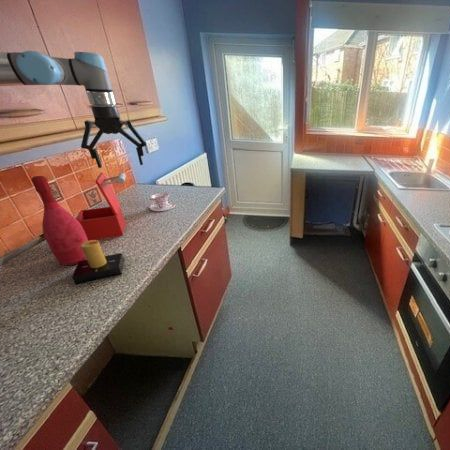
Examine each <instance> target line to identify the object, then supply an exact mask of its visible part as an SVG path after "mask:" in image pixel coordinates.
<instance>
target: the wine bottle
mask: <svg viewBox="0 0 450 450" xmlns="http://www.w3.org/2000/svg"><path fill="white" fill-rule="evenodd" d="M31 183H32V184H33V187H34V189H35V191H36V192H37V193H38V194H39V195H40V197H41V200H42V205H43V216H42V234H43V237H44V240H45V241H46V243H47V245H48V247H49V249H50V250H51V252H52V254H53V256H54V257H55V259H56V260H57V262H58V263H59V265H62V266H71V265H78V262H79V261H83V260H87V259H86V256H85V254H84V252H83V250H82V248H81V244H82V243H84V242H86V241H88V239H87V236H86V234H85V232H84V229H83V227H82V226H81V224H80V223H79V222H78V220H77V219H76V217H75V216H74V215H72V214H71V212H69V211H67V210H66V209H65V208H64V207H63V206H62V205H61V204H60V203H59V202H58V200H56V198H55V196H54V194H53V193H52V187H51V185H50V183H49V182H48V178H47V177H46V176H44V175H36V176H32V178H31Z"/></svg>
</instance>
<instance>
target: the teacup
mask: <svg viewBox="0 0 450 450" xmlns="http://www.w3.org/2000/svg"><path fill="white" fill-rule="evenodd" d="M169 197H170V193H168V192H158V193H155V194H152V195H151V196H150V199H149V201H150V203H151V205H150V206H149V210H150V211H152V212H165V211H169V210H172V209H174V208H175V207H176V203H175V202H173V201H168V199H169ZM154 202H155V203H154Z"/></svg>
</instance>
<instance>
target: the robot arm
mask: <svg viewBox="0 0 450 450" xmlns="http://www.w3.org/2000/svg"><path fill="white" fill-rule="evenodd" d="M73 53H74V54H73V55H74V58H73V57H72V58H70V57H69V58H67V57H56V56H50V55H47V54H45V53H43V52H39V51H37V50H34V51H33V50H25V51H22V52H21V51H20V52H7V51H0V87H14V86H17V87H18V86H52V85H53V86H54V85H55V86H56V85H58V86H80V87H81V86H83V87H84V88H85V93H86V96H87V99H88V102H89V104H90V105H92V106H91V107H90V108H91V112H92V115H93V119H94V121H93V120H89V119H86V120H84V121H83V122H84V123H83V124H84V131H83V136H82V141H81V144H80V148H81V149H85V150H87V151H89V155H90V157H91V159H92V160H94V159H95V162H96V165H97V167H98V169H101V168H102V167H103V164H102V161H101V158H100V155H99V153H98V152H99V151H98V149H97V148H95V146H96V145H97V144H98V142H99V140H100V139H101V137H102V136H103V134H105V135H111V134H113V135H117V134H120V135H122V136H123V137H124V138H126V139H127V140H128V141H129V142H131V143H132V144H133V145H135V147H136V149H135V150H136V153H137V157H138V162H139V165H140V166H143V165H144V162H143V158H142V157H144V155H145V153H144V149H143V148H144V147H146V146H147V142H146V140H145V139H144V138H143V137H142V136H141V134H140V133H139V132H138V131H137V129H136V128H135V127H134V126H133V123H132V121H131V120H130V119H128V120H122V118H121V117H120V113H119V109H118V107H117V106H116V105H117V102H116V101H117V100H116V98H115V94H114V91H113V87H112V83H111V79H110V76H109V72H108V71H109V70H107V66H106V63H105V59H104V57H103V56H102V55H101V54H99V53H96V52H89V51H74V52H73ZM94 126H96V128H98V131H97V133H96V135H95V136H94V137H93V139H92V141H91V142H90V144H88V143H89V139H90V135H91V131H92V128H93V127H94ZM123 126H125V127H126V128H129V130H130V131H131V133H132V134H133V135H134V136H135V138H136V139H135V138H134V137H133V136H132V135H131V134H129V133H128V132H127V131H126V130H125V129H123Z"/></svg>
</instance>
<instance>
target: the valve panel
mask: <svg viewBox="0 0 450 450" xmlns="http://www.w3.org/2000/svg"><path fill="white" fill-rule="evenodd" d="M104 256H105V259H106V261H107V263H106V264H105V265H103V266H101V267H99V268H91V267H90V265H89V263H88V261H87V260H83V261H79V262H78V263H77V264H76V266H75V269H74V270H73V271H74V272H73V274H72V276H71V279H72V281H73V282H74V285H76V286H78V285H81V284H86V283H90V282H91V283H92V282H94V281H99V280H105V279H108V278H112V277H118V276H122V274H123V271H124V263H125V258H124V257H125V256H124V255H123V252H119V253H114V254H109V255H104Z"/></svg>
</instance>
